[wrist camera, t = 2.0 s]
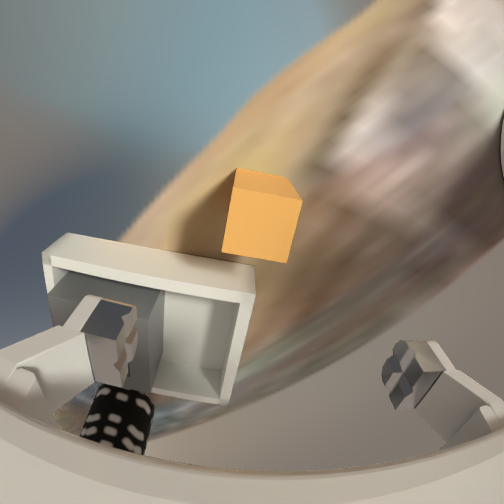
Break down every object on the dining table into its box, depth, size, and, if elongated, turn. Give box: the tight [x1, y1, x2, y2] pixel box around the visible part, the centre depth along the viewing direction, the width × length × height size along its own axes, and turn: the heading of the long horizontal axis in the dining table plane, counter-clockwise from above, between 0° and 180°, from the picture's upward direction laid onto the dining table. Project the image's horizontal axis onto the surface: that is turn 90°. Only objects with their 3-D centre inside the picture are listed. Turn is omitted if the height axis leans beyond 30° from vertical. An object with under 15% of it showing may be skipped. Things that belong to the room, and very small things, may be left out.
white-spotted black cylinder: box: [79, 384, 155, 455], centre depth 26 cm, size 8×8×20 cm
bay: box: [42, 233, 256, 406], centre depth 25 cm, size 18×14×7 cm
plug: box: [222, 168, 303, 263], centre depth 21 cm, size 4×4×7 cm
